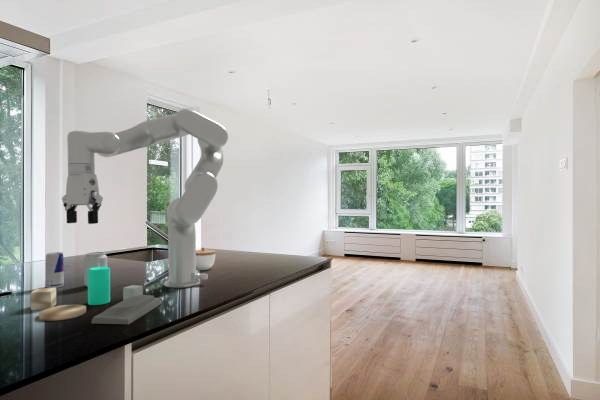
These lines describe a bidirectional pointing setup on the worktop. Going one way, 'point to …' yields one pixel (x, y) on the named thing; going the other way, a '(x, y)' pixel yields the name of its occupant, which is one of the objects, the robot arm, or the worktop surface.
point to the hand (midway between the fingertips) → (82, 223)
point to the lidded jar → (204, 259)
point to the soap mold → (127, 310)
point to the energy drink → (54, 270)
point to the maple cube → (43, 298)
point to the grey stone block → (132, 291)
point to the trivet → (62, 312)
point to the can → (93, 263)
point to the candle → (98, 285)
